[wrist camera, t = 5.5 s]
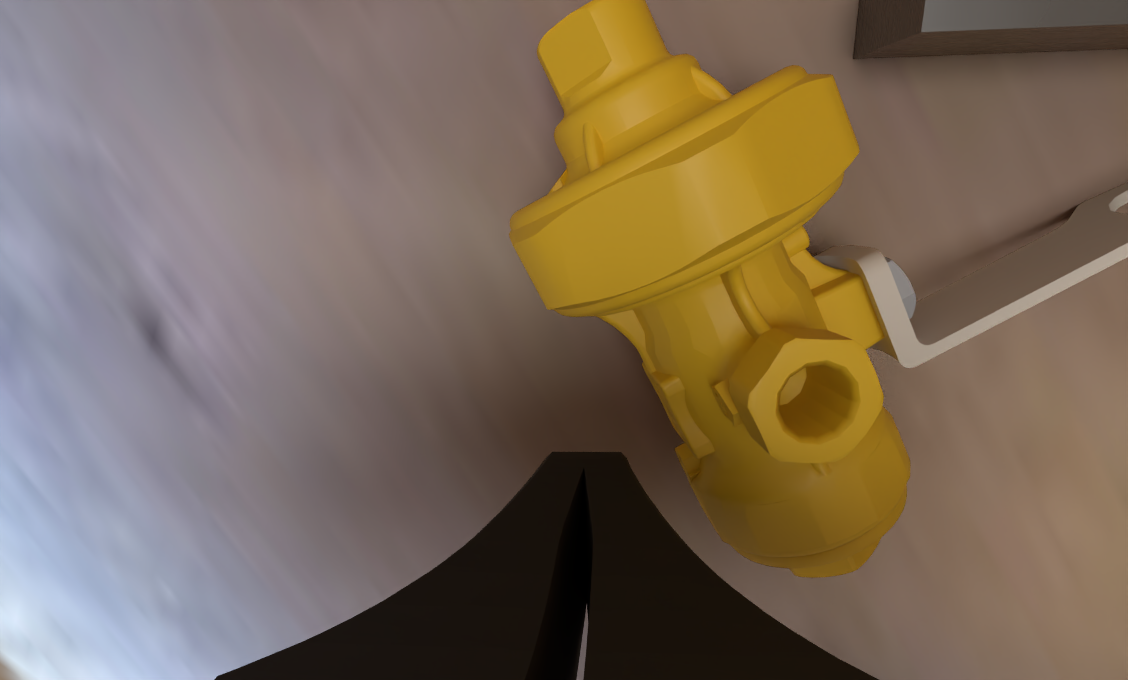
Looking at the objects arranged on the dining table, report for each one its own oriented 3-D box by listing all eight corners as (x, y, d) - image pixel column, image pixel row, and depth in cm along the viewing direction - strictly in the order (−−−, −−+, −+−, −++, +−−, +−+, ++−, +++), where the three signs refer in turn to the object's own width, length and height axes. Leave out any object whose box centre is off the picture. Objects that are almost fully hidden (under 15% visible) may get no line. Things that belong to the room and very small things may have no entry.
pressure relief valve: (669, 527, 14) (453, 124, 12) (1135, 287, 14) (1006, -176, 11) (767, 725, 9) (403, 50, 6) (1539, 337, 8) (1445, -521, 6)
